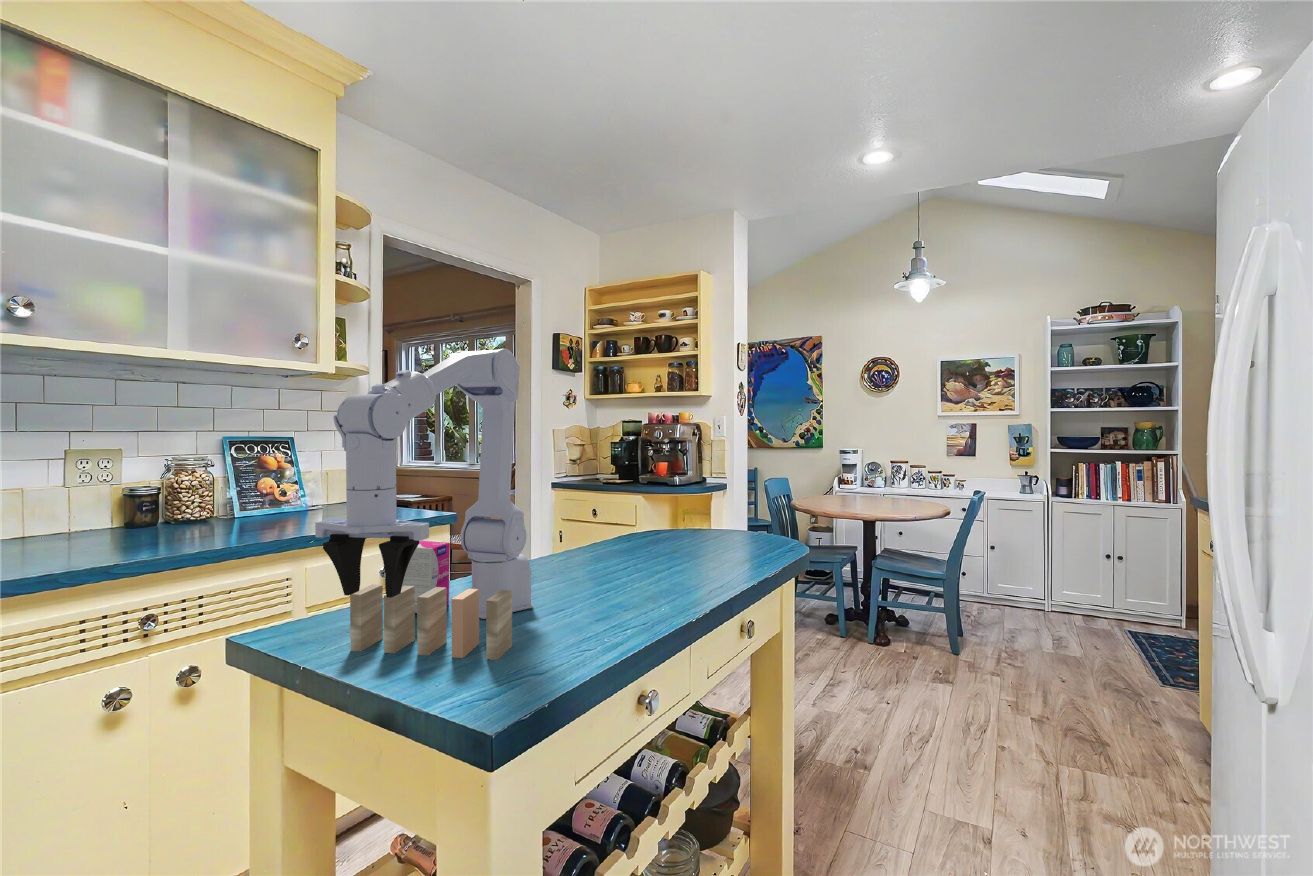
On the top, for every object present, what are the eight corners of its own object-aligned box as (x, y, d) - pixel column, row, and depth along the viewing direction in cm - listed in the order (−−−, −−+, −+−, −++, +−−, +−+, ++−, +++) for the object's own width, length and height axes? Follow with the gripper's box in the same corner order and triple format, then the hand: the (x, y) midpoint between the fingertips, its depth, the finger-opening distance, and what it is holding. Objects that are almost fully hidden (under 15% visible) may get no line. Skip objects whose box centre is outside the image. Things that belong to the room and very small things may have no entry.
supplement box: (431, 617, 95) (431, 548, 95) (399, 615, 96) (399, 546, 96) (450, 607, 101) (450, 541, 101) (420, 604, 102) (419, 539, 102)
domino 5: (512, 646, 83) (511, 590, 83) (497, 660, 78) (497, 601, 78) (501, 645, 83) (501, 590, 83) (486, 659, 78) (486, 600, 78)
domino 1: (382, 638, 86) (382, 584, 86) (361, 651, 81) (360, 594, 81) (372, 638, 86) (372, 584, 86) (350, 651, 81) (350, 594, 81)
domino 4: (479, 644, 84) (478, 589, 84) (462, 658, 79) (462, 599, 79) (468, 643, 84) (468, 588, 84) (451, 657, 79) (451, 599, 79)
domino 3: (446, 642, 85) (446, 587, 84) (428, 655, 80) (428, 597, 79) (436, 641, 85) (436, 587, 85) (417, 655, 80) (417, 597, 80)
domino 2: (414, 640, 85) (414, 586, 85) (394, 653, 80) (394, 596, 80) (404, 639, 86) (404, 585, 85) (384, 652, 81) (383, 595, 80)
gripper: (296, 490, 71) (297, 601, 71) (406, 492, 69) (407, 606, 69) (336, 484, 78) (337, 585, 78) (437, 486, 76) (438, 590, 76)
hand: (372, 594), depth 74 cm, fingers open, 5 cm apart
